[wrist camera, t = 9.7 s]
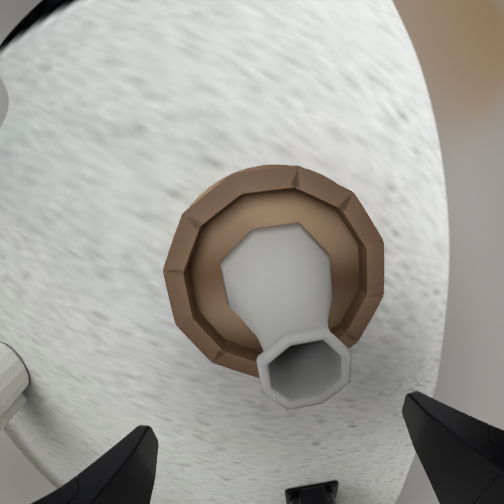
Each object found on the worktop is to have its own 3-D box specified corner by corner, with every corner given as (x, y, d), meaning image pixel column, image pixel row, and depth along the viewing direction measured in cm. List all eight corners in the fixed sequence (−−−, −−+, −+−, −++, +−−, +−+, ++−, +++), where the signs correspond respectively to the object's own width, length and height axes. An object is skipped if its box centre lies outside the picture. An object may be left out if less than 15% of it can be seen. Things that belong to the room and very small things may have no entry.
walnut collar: (371, 344, 21) (382, 359, 18) (194, 369, 21) (189, 387, 19) (366, 158, 17) (381, 155, 15) (155, 183, 18) (143, 183, 15)
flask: (347, 299, 19) (418, 389, 9) (252, 344, 19) (256, 460, 10) (304, 201, 17) (372, 224, 8) (200, 255, 18) (150, 332, 8)
